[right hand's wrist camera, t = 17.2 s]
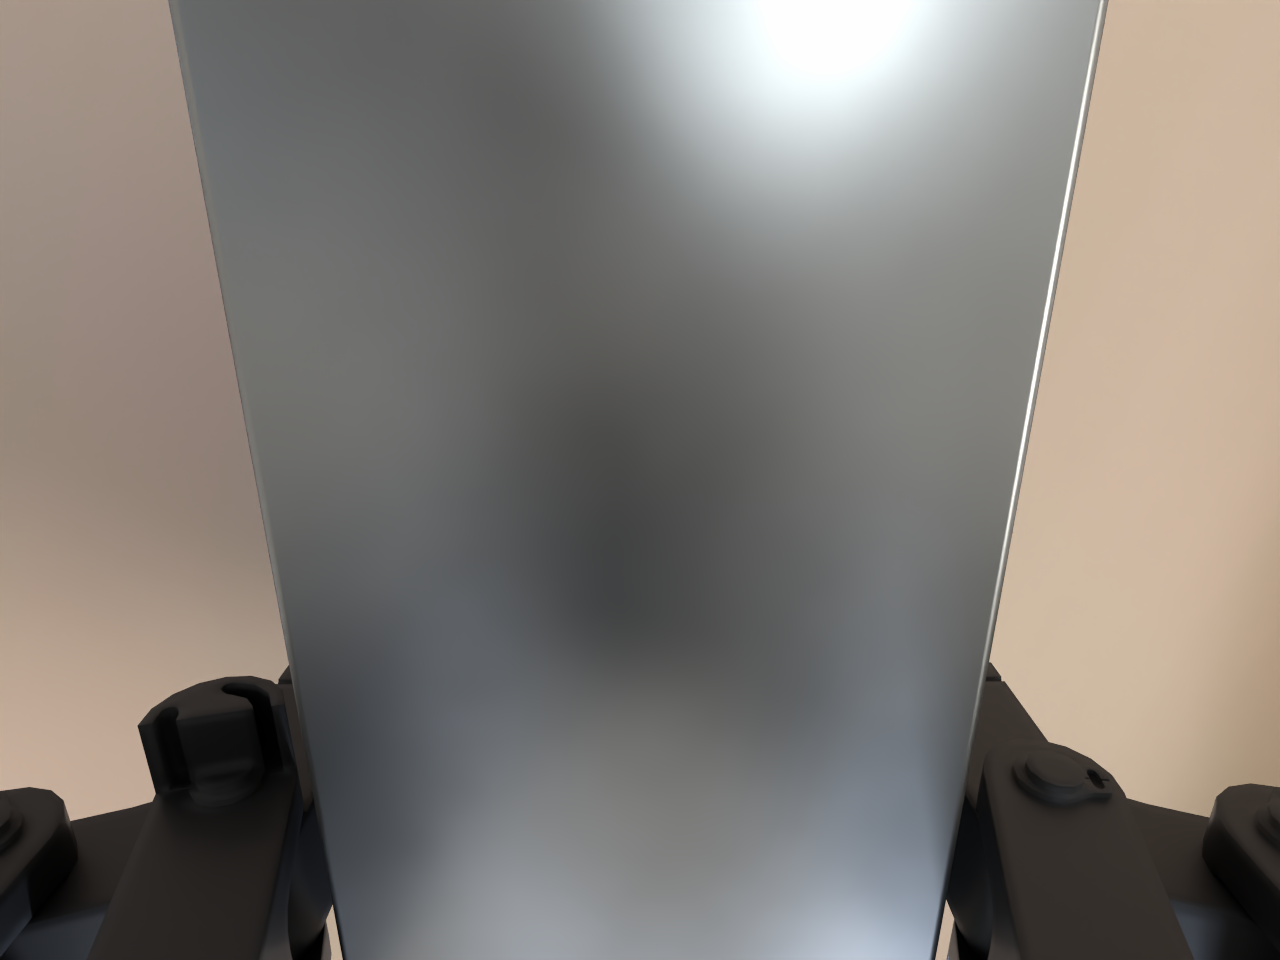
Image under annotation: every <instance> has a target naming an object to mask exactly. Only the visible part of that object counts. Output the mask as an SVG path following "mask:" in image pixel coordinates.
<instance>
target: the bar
mask: <svg viewBox="0 0 1280 960" xmlns="http://www.w3.org/2000/svg"><path fill="white" fill-rule="evenodd" d="M168 1H169V6H170V12H171V17H172V23H173V28H174V34H175V39H176V45H177V50H178V56H179V61H180V67H181V72H182V78H183V83H184V89H185V94H186V100H187V105H188V111H189V116H190V122H191V127H192V133H193V138H194V144H195V149H196V155H197V160H198V166H199V171H200V177H201V182H202V188H203V193H204V199H205V204H206V210H207V215H208V221H209V226H210V232H211V237H212V243H213V248H214V254H215V259H216V265H217V270H218V276H219V281H220V287H221V292H222V298H223V303H224V309H225V314H226V320H227V325H228V331H229V336H230V342H231V347H232V353H233V358H234V364H235V369H236V375H237V380H238V386H239V391H240V397H241V402H242V408H243V413H244V419H245V424H246V430H247V435H248V441H249V446H250V452H251V457H252V463H253V468H254V474H255V479H256V485H257V490H258V496H259V501H260V507H261V512H262V518H263V523H264V529H265V534H266V540H267V545H268V551H269V556H270V562H271V567H272V573H273V578H274V584H275V589H276V595H277V600H278V606H279V611H280V617H281V622H282V628H283V633H284V639H285V644H286V650H287V655H288V661H289V666H290V672H291V677H292V683H293V688H294V694H295V699H296V705H297V710H298V716H299V721H300V727H301V732H302V738H303V743H304V749H305V754H306V760H307V765H308V771H309V776H310V782H311V787H312V793H313V798H314V804H315V809H316V815H317V820H318V826H319V831H320V837H321V842H322V848H323V853H324V859H325V864H326V870H327V875H328V881H329V886H330V892H331V897H332V903H333V908H334V913H335V919H336V924H337V930H338V935H339V941H340V946H341V952H342V957H343V960H935V957H936V952H937V946H938V941H939V935H940V930H941V924H942V919H943V913H944V907H945V902H946V896H947V891H948V885H949V880H950V874H951V869H952V863H953V858H954V852H955V847H956V841H957V836H958V830H959V824H960V819H961V813H962V808H963V802H964V797H965V791H966V786H967V780H968V775H969V769H970V764H971V758H972V753H973V747H974V741H975V736H976V730H977V725H978V719H979V714H980V708H981V703H982V697H983V692H984V686H985V681H986V675H987V670H988V664H989V658H990V653H991V647H992V642H993V636H994V631H995V625H996V620H997V614H998V609H999V603H1000V598H1001V592H1002V587H1003V581H1004V575H1005V570H1006V564H1007V559H1008V553H1009V548H1010V542H1011V537H1012V531H1013V526H1014V520H1015V515H1016V509H1017V503H1018V498H1019V492H1020V487H1021V481H1022V476H1023V470H1024V465H1025V459H1026V454H1027V448H1028V443H1029V437H1030V432H1031V426H1032V420H1033V415H1034V409H1035V404H1036V398H1037V393H1038V387H1039V382H1040V376H1041V371H1042V365H1043V360H1044V354H1045V349H1046V343H1047V337H1048V332H1049V326H1050V321H1051V315H1052V310H1053V304H1054V299H1055V293H1056V288H1057V282H1058V277H1059V271H1060V266H1061V260H1062V254H1063V249H1064V243H1065V238H1066V232H1067V227H1068V221H1069V216H1070V210H1071V205H1072V199H1073V194H1074V188H1075V183H1076V177H1077V171H1078V166H1079V160H1080V155H1081V149H1082V144H1083V138H1084V133H1085V127H1086V122H1087V116H1088V111H1089V105H1090V100H1091V94H1092V88H1093V83H1094V77H1095V72H1096V66H1097V61H1098V55H1099V50H1100V44H1101V39H1102V33H1103V28H1104V22H1105V17H1106V11H1107V5H1108V0H168Z"/></svg>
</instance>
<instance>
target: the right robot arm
mask: <svg viewBox="0 0 1280 960" xmlns="http://www.w3.org/2000/svg"><path fill="white" fill-rule="evenodd" d="M138 729H139V733H140V736H141V740H142V744H143V748H144V751H145V755H146V759H147V762H148V766H149V770H150V773H151V777H152V781H153V785H154V788H155V792H156V795H155V797H154V800H153V802H150V803H146V804H143V805H139V806H136V807H132V808H128V809H123V810H119V811H114V812H110V813H105V814H101V815H96V816H92V817H87V818H83V819H78V820H74V821H70V819H69V816H68V813H67V810H66V807H65V804H64V801H63V800H62V799H61V798H60V797H59V796H57V795H56V794H55V793H54V792H53V791H51V790H45V789H38V788H32V787H27V788H20V789H12V790H5V791H0V960H331V947H330V940H329V934H328V929H327V923H326V919H327V916H328V914H329V911H330V909H331V907H332V904H333V903H332V897H331V892H330V886H329V881H328V875H327V870H326V864H325V859H324V853H323V848H322V842H321V837H320V831H319V826H318V820H317V815H316V809H315V804H314V798H313V793H312V787H311V782H310V776H309V771H308V765H307V760H306V754H305V749H304V743H303V738H302V732H301V727H300V721H299V716H298V710H297V705H296V699H295V694H294V688H293V683H292V677H291V672H290V666H288V667H287V668H286V670H285V671H284V673H283V674H282V675H281V677H280V678H279V682H278V684H274V683H273V682H272V681H270V680H266V679H262V678H258V677H253V676H239V677H224V678H220V679H216V680H211V681H207V682H203V683H199V684H196V685H194V686H192V687H189V688H187V689H185V690H182V691H180V692H178V693H175V694H173V695H171V696H170V697H168V698H167V699H165V700H164V701H163V702H161V703H160V704H158V705H157V706H155V707H154V708H152V709H151V710H150V711H149V713H148V714H147V715H146V716H145V717H144V719H143V720H142V721H141V722H140V723H139V725H138ZM946 900H947V902H948V905H949V907H950V909H951V912H952V914H953V916H954V923H953V929H952V934H951V939H950V945H949V950H948V955H947V960H1280V787H1273V786H1265V785H1258V784H1244V785H1237V786H1230V787H1228V788H1227V789H1225V790H1224V791H1223V792H1222V793H1221V794H1219V795H1218V796H1217V797H1216V800H1215V803H1214V806H1213V810H1212V813H1211V816H1210V818H1208V817H1204V816H1199V815H1195V814H1190V813H1185V812H1181V811H1176V810H1172V809H1167V808H1163V807H1158V806H1154V805H1149V804H1145V803H1142V802H1138V801H1135V800H1131V799H1128V798H1126V796H1125V793H1124V792H1123V790H1122V789H1121V787H1120V786H1119V785H1118V783H1117V782H1116V780H1115V779H1114V777H1113V776H1112V775H1111V774H1110V773H1109V772H1107V771H1106V770H1105V769H1104V768H1102V767H1101V766H1100V765H1098V764H1097V763H1096V762H1095V761H1093V760H1092V759H1090V758H1088V757H1086V756H1084V755H1082V754H1080V753H1078V752H1076V751H1074V750H1072V749H1070V748H1068V747H1065V746H1061V745H1058V744H1054V743H1050V742H1048V741H1047V739H1046V738H1045V737H1044V735H1043V734H1042V732H1041V731H1040V730H1039V728H1038V727H1037V726H1036V724H1035V723H1034V721H1033V720H1032V719H1031V717H1030V716H1029V714H1028V713H1027V712H1026V710H1025V709H1024V708H1023V706H1022V705H1021V703H1020V702H1019V701H1018V699H1017V698H1016V697H1015V695H1014V694H1013V692H1012V691H1011V690H1010V688H1009V687H1008V686H1007V684H1006V683H1005V681H1001V676H1000V674H999V673H998V672H997V670H996V669H995V668H994V666H993V665H992V663H991V662H989V664H988V670H987V675H986V681H985V686H984V692H983V697H982V703H981V708H980V714H979V719H978V725H977V730H976V736H975V741H974V747H973V753H972V758H971V764H970V769H969V775H968V780H967V786H966V791H965V797H964V802H963V808H962V813H961V819H960V824H959V830H958V836H957V841H956V847H955V852H954V858H953V863H952V869H951V874H950V880H949V885H948V891H947V896H946Z"/></svg>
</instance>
